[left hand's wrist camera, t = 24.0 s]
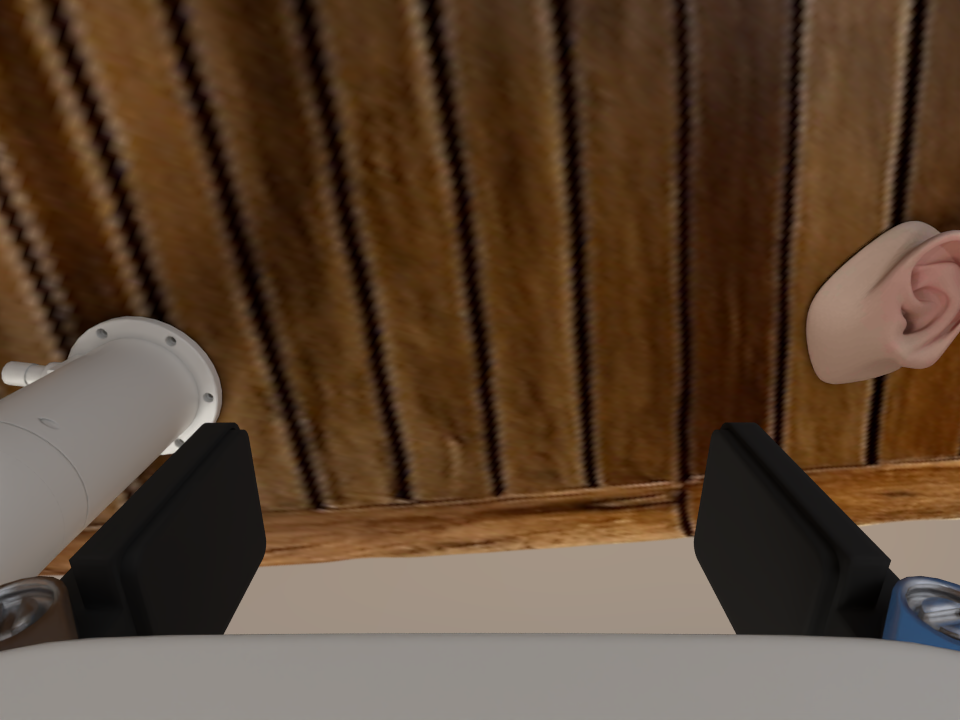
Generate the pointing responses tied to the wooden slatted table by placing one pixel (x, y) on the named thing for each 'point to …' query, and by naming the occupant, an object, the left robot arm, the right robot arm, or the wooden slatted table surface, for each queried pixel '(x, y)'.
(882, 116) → the wooden slatted table surface
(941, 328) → the anatomical model
